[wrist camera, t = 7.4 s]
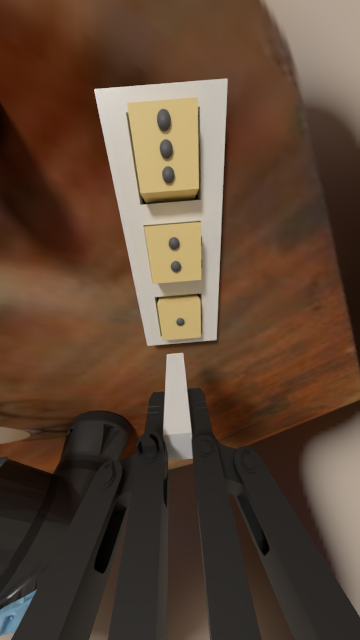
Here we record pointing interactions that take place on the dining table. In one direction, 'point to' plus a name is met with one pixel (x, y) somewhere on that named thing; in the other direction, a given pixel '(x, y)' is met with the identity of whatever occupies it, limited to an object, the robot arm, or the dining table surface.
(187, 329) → the one pip key
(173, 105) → the three pip key
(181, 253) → the two pip key
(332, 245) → the dining table surface
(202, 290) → the keypad base
